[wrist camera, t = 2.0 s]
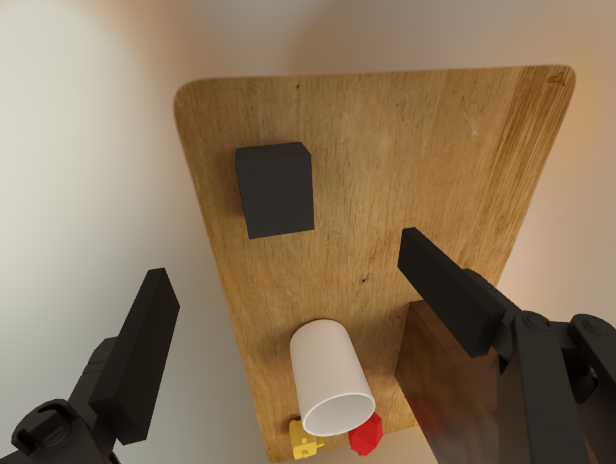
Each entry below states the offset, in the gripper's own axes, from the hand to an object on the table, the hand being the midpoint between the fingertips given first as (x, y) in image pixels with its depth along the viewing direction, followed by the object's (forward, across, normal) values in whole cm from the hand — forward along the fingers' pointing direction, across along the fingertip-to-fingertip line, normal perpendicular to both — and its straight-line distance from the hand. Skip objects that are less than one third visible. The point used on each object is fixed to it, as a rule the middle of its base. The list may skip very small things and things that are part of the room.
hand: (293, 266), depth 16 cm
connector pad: (+14, 0, 0) cm, 14 cm away
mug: (+14, +5, -26) cm, 30 cm away
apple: (+14, +11, -49) cm, 53 cm away
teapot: (+14, 0, -47) cm, 49 cm away
